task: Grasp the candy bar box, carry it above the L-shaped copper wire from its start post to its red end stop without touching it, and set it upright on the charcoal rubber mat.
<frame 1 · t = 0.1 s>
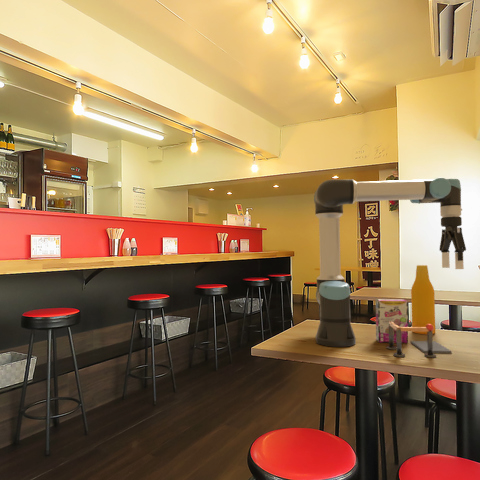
hand: (452, 268, 160), 28 cm above the table, fingers open, 13 cm apart
candy bar box: (392, 342, 153), on the table
bent wire: (391, 348, 142), on the table
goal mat: (430, 347, 142), on the table
beer bottle: (423, 332, 169), on the table
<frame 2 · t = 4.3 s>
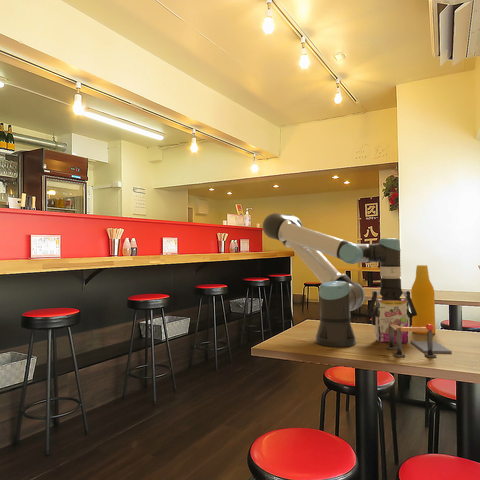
hand: (391, 333, 153), 3 cm above the table, fingers closed on candy bar box, 11 cm apart
candy bar box: (392, 342, 153), on the table, touching gripper
everything else where it was.
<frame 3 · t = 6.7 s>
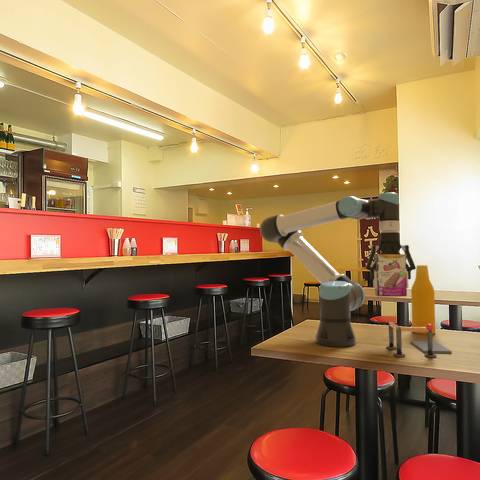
hand: (390, 287, 153), 21 cm above the table, fingers closed on candy bar box, 11 cm apart
candy bar box: (390, 296, 153), point 18 cm above the table, touching gripper
everything else where it was.
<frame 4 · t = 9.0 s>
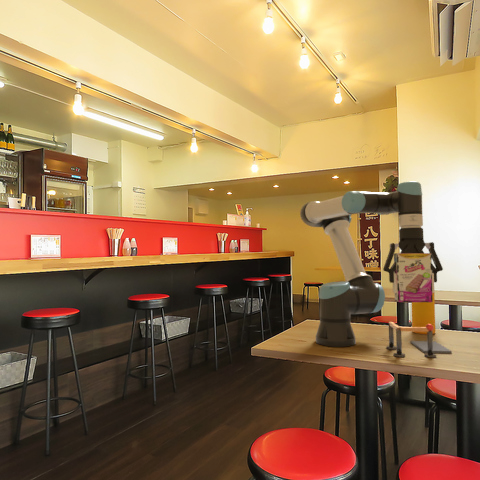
hand: (413, 292, 132), 21 cm above the table, fingers closed on candy bar box, 11 cm apart
candy bar box: (413, 302, 131), point 18 cm above the table, touching gripper
everything else where it was.
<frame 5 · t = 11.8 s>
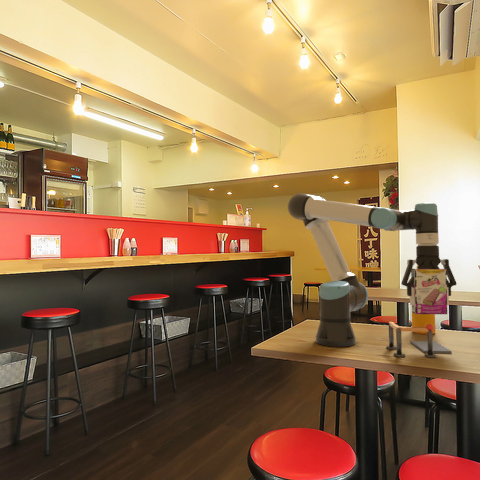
hand: (429, 305, 143), 16 cm above the table, fingers closed on candy bar box, 11 cm apart
candy bar box: (429, 314, 143), point 12 cm above the table, touching gripper
everything else where it was.
when the fingers open (5 cm above the table, at t = 14.1 s): candy bar box drops 2 cm, resting on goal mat.
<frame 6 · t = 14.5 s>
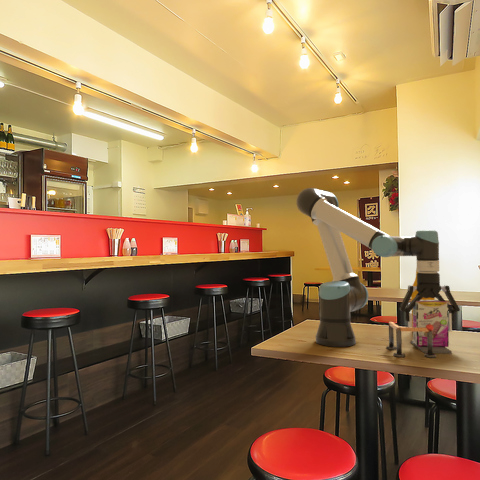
hand: (429, 330, 143), 6 cm above the table, fingers open, 13 cm apart
candy bar box: (430, 346, 142), point 1 cm above the table, touching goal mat
everything else where it was.
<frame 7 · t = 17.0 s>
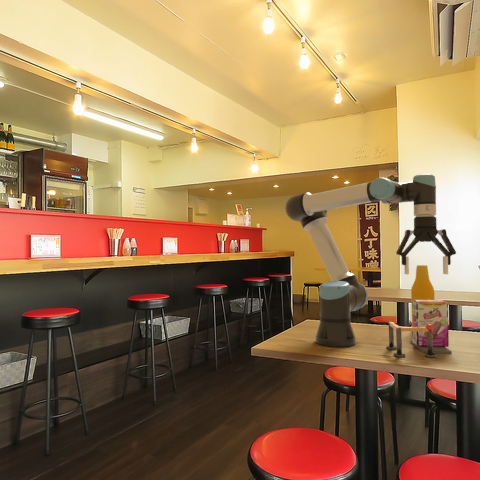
hand: (426, 274, 144), 27 cm above the table, fingers open, 13 cm apart
nothing on the table moved.
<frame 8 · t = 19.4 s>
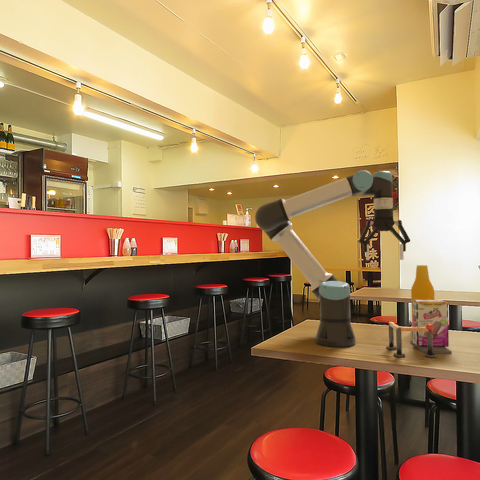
hand: (384, 260, 162), 32 cm above the table, fingers open, 13 cm apart
nothing on the table moved.
at the end: candy bar box inside the target area on the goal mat (0.3 cm from its centre), point 0.6 cm above the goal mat's base; candy bar box tilted 0°; candy bar box touching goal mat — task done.
